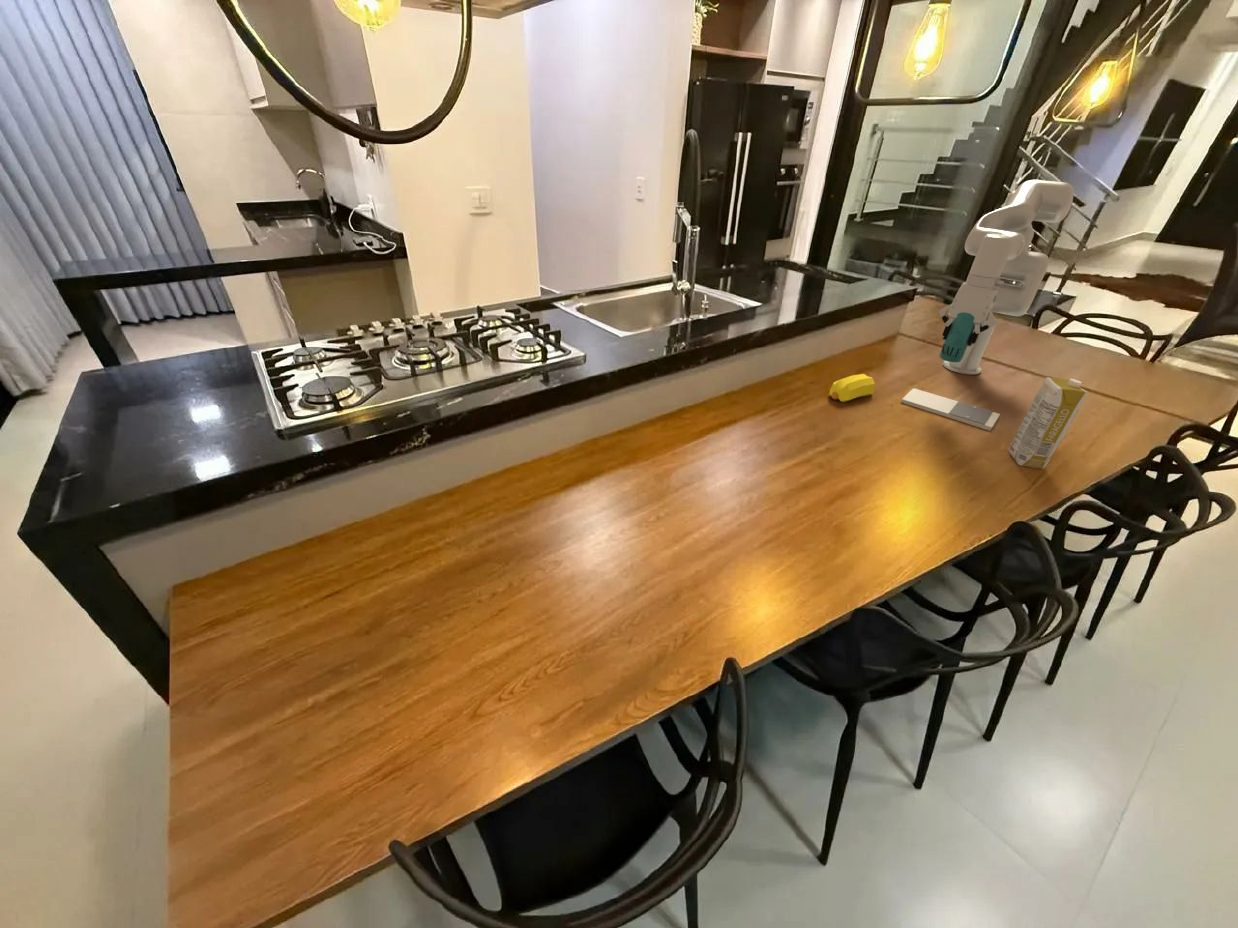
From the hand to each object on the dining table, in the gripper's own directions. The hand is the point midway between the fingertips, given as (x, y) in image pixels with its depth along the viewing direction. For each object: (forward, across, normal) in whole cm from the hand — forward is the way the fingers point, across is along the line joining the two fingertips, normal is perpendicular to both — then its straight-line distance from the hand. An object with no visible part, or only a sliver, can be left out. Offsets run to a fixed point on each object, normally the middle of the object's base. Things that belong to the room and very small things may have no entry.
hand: (957, 341), depth 163 cm
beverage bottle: (+7, 0, 0) cm, 7 cm away
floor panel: (+21, -5, 0) cm, 22 cm away
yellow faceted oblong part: (+22, +21, +14) cm, 34 cm away
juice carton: (+22, -30, +18) cm, 40 cm away
